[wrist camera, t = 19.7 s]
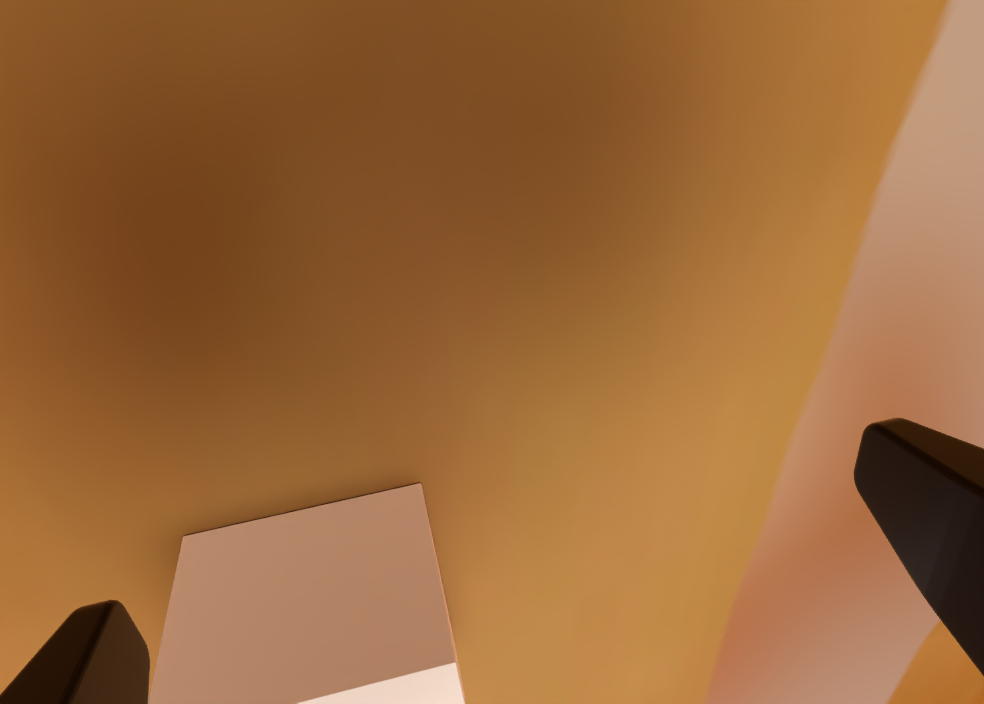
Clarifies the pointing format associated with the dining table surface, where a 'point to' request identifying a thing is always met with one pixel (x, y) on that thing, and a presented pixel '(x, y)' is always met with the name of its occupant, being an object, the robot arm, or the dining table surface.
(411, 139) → the dining table surface
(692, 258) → the dining table surface
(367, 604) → the pale pink cube
